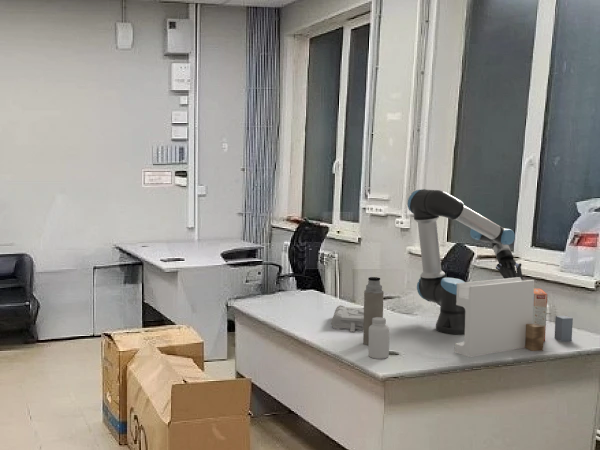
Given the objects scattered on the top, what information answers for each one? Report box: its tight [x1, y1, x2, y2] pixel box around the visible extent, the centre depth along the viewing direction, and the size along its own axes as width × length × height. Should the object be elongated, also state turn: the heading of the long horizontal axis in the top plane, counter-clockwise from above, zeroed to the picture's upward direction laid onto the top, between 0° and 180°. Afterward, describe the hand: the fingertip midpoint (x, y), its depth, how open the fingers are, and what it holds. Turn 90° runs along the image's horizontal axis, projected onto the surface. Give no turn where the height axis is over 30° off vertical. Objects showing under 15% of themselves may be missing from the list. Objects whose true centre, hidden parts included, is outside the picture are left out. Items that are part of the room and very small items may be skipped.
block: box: [454, 277, 535, 358], centre depth 250 cm, size 35×8×28 cm, turn 119°
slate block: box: [554, 315, 574, 342], centre depth 267 cm, size 5×5×10 cm
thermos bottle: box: [362, 276, 385, 347], centre depth 256 cm, size 8×8×28 cm
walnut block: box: [525, 324, 544, 352], centre depth 251 cm, size 5×5×10 cm
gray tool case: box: [330, 305, 364, 333], centre depth 288 cm, size 19×28×8 cm
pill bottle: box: [367, 317, 390, 360], centre depth 238 cm, size 8×8×15 cm
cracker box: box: [532, 287, 548, 342], centre depth 270 cm, size 14×6×21 cm, turn 168°
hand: (520, 293), depth 286 cm, fingers closed
